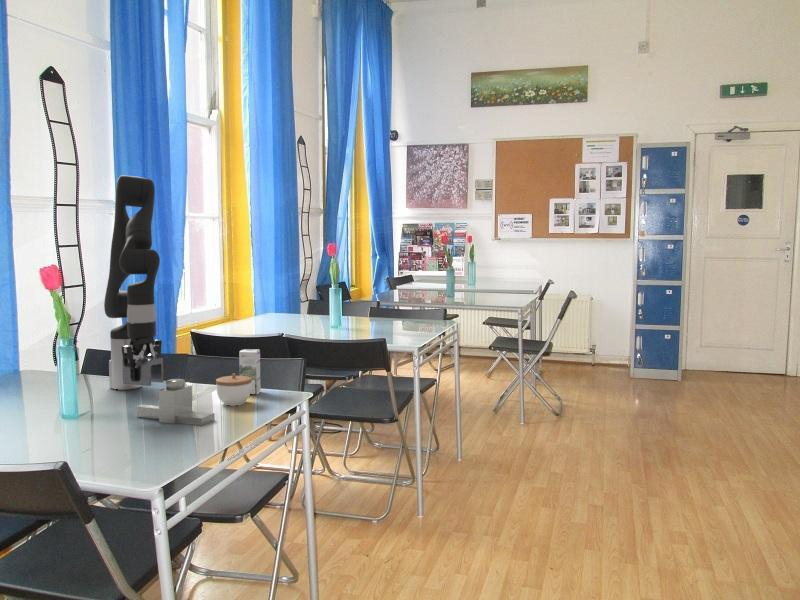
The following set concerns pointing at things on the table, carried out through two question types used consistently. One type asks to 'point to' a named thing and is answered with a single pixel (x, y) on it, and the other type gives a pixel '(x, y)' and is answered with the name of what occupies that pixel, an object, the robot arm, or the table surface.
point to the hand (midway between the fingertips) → (143, 378)
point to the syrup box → (251, 367)
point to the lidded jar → (233, 389)
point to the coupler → (175, 406)
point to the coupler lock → (145, 371)
